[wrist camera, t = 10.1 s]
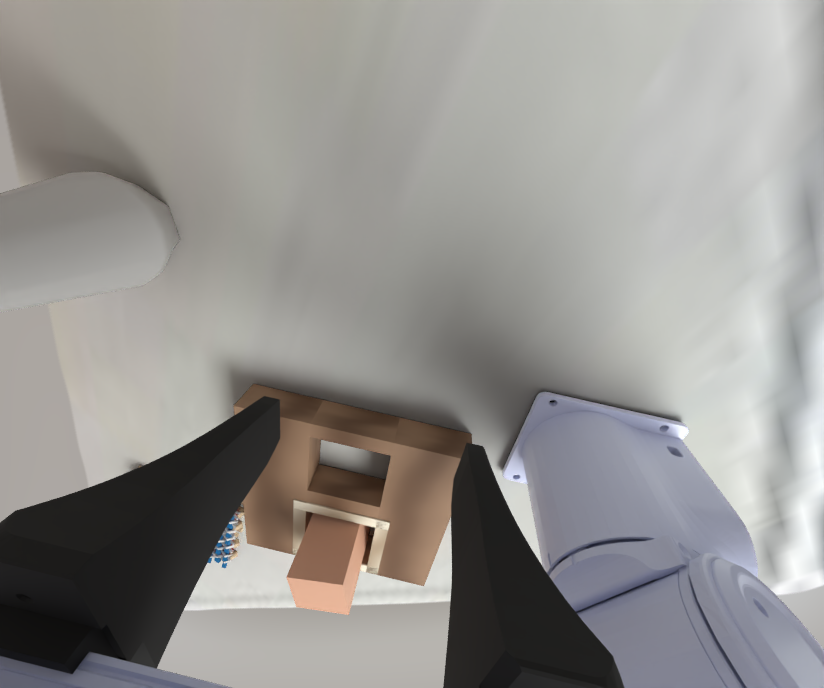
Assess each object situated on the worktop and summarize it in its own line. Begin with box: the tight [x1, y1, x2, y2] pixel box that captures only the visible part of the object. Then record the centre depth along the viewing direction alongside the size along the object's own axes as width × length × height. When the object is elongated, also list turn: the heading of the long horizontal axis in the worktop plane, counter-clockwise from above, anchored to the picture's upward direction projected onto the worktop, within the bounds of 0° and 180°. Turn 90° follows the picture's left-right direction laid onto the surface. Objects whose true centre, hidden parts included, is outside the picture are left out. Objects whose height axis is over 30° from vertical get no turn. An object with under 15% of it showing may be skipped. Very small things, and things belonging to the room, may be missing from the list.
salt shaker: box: [0, 171, 180, 313], centre depth 15 cm, size 6×6×13 cm
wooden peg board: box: [234, 384, 472, 586], centre depth 28 cm, size 16×16×3 cm
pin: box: [287, 513, 371, 615], centre depth 28 cm, size 4×4×7 cm
